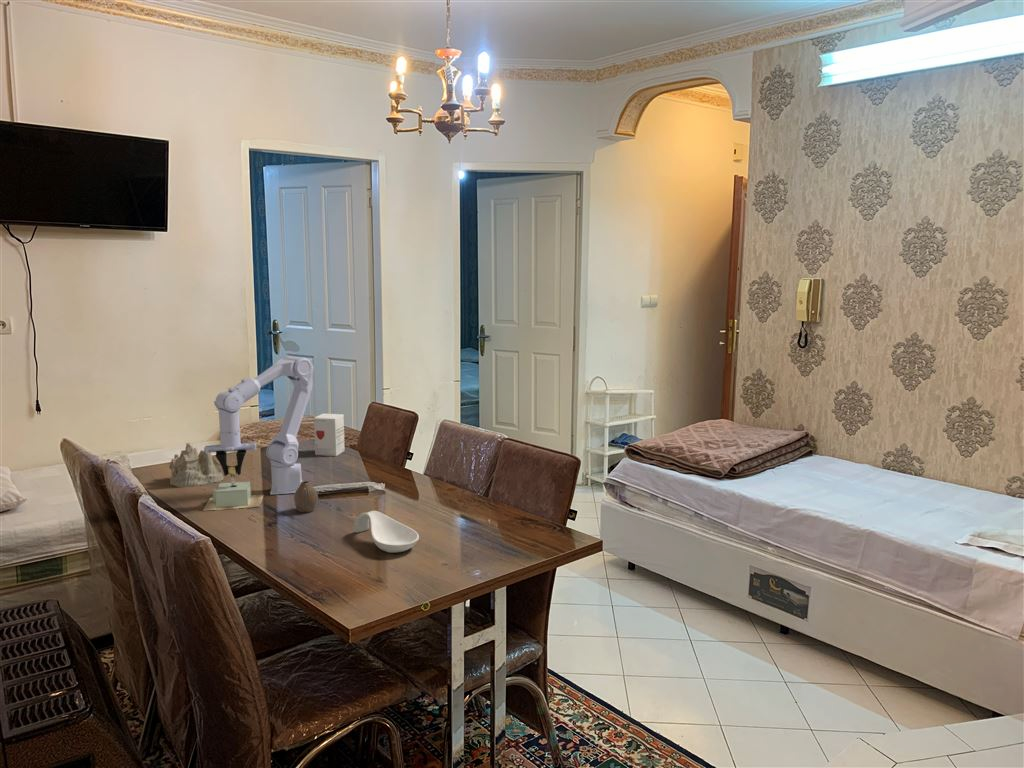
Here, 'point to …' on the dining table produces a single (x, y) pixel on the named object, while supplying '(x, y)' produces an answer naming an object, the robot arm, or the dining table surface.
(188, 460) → the sand castle
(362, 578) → the dining table surface
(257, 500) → the cork mat
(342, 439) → the supplement box
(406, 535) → the spoon rest
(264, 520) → the dining table surface
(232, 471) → the gold rounded piece
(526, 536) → the dining table surface
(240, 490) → the mint green slotted box
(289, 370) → the robot arm
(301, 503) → the vase
